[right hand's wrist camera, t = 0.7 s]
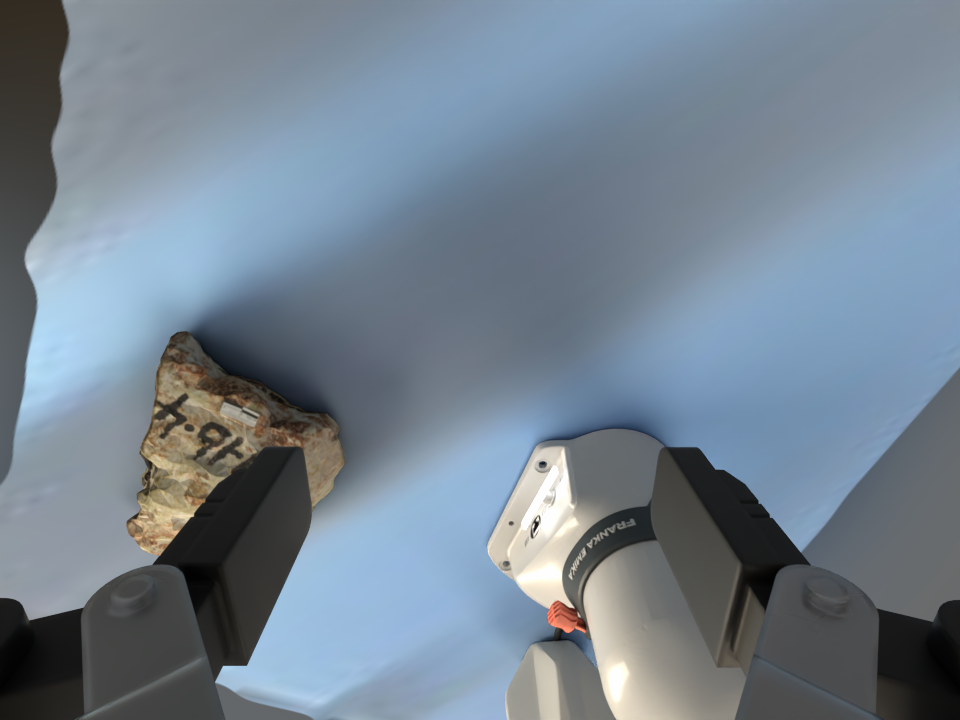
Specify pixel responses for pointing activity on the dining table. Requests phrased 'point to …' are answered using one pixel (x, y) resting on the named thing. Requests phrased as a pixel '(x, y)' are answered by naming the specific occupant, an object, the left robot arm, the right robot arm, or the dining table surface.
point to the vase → (556, 685)
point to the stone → (217, 439)
